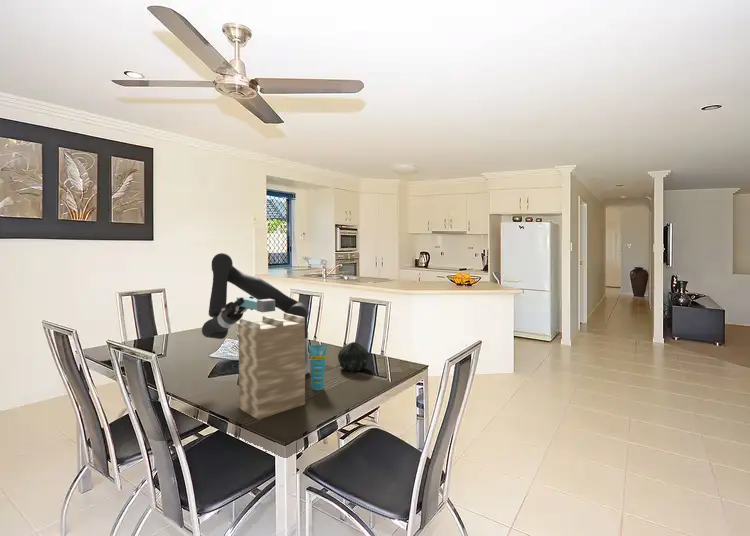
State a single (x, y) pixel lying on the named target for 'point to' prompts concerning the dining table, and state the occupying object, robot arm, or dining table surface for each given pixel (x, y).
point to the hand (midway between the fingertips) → (247, 299)
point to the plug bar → (259, 304)
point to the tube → (317, 365)
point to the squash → (353, 357)
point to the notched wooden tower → (271, 365)
